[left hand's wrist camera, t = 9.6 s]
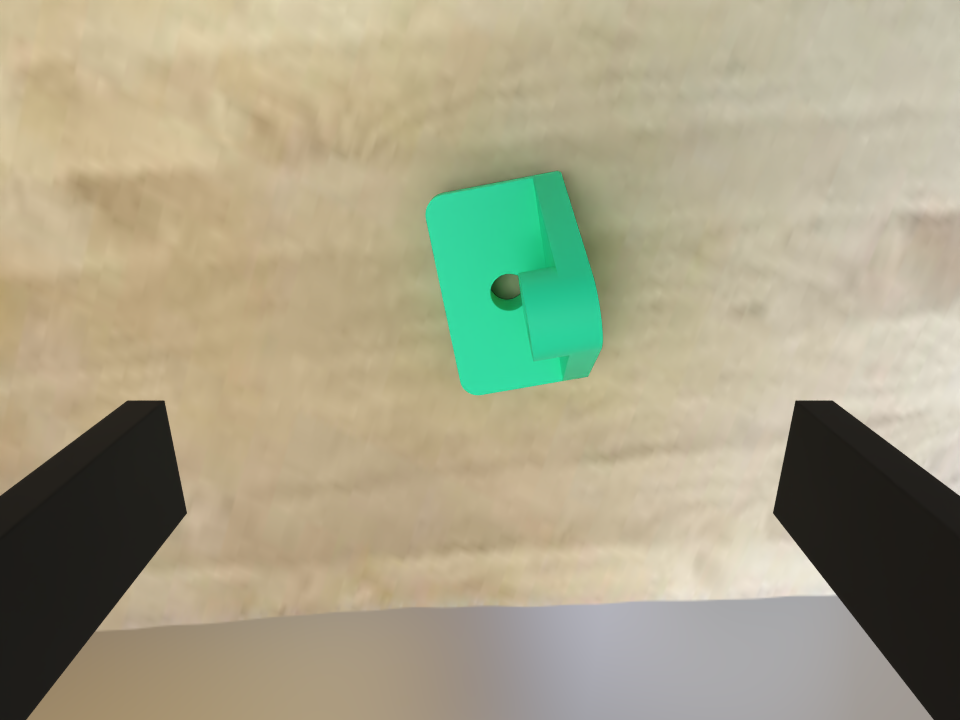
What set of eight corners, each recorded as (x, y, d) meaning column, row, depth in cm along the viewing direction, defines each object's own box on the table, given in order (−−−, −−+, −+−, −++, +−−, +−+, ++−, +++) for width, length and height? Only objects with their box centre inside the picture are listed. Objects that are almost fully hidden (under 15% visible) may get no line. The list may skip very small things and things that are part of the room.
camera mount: (425, 194, 35) (405, 215, 25) (555, 169, 35) (584, 181, 25) (464, 381, 39) (460, 460, 30) (580, 361, 39) (615, 435, 29)
